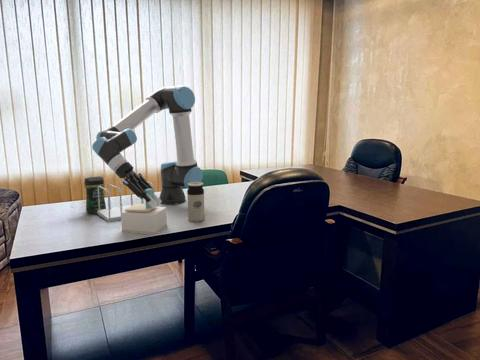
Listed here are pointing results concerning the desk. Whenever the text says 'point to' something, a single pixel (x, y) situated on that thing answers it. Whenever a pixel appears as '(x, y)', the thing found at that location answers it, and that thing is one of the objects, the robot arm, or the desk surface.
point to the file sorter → (115, 212)
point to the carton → (144, 221)
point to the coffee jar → (94, 194)
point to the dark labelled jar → (195, 201)
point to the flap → (142, 207)
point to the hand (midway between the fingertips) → (157, 204)
